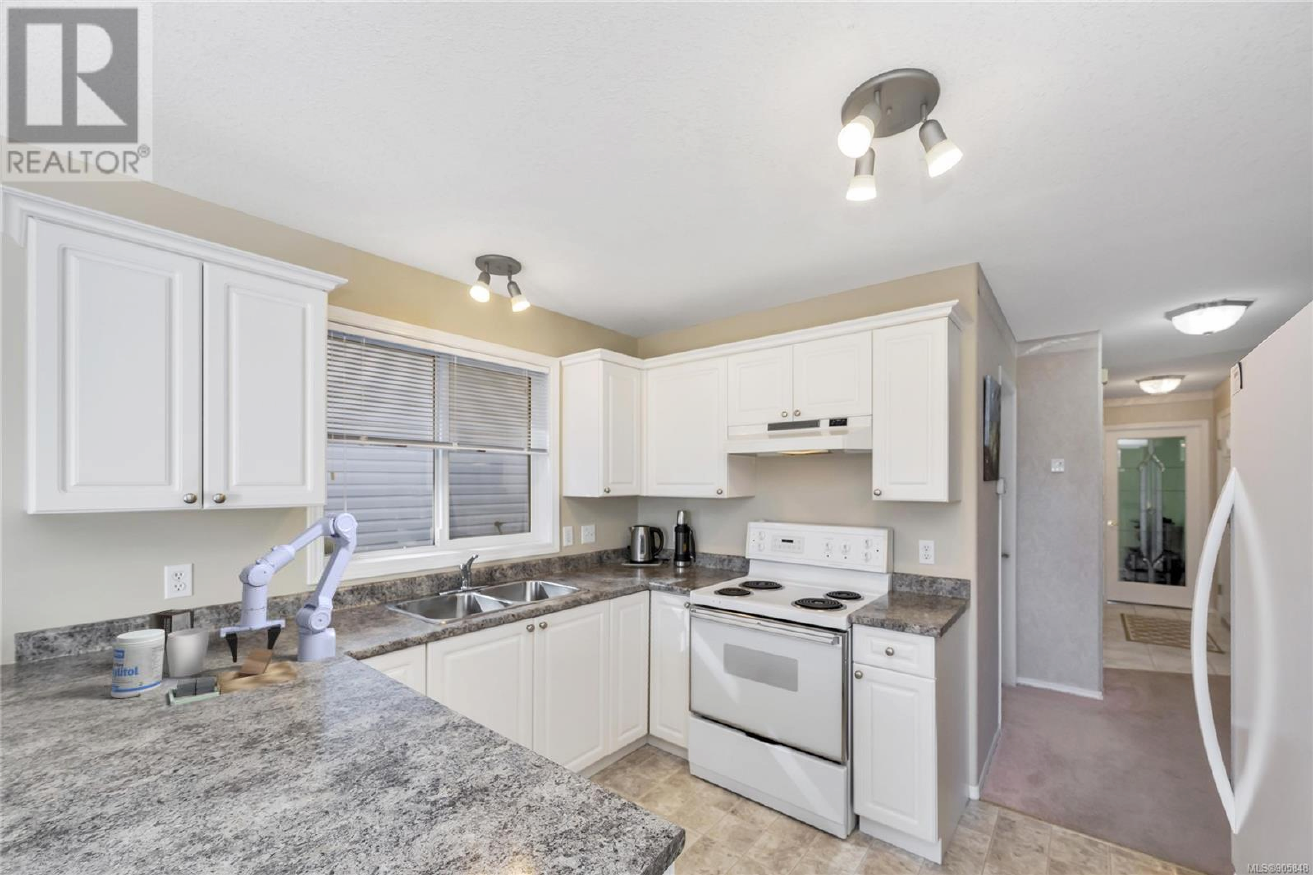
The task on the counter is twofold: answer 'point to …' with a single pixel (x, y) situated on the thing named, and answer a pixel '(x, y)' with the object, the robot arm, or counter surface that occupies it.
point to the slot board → (256, 678)
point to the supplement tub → (137, 662)
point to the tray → (188, 698)
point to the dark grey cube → (186, 687)
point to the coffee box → (171, 626)
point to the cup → (187, 651)
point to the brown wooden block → (256, 662)
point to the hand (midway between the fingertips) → (252, 658)
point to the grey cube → (205, 685)
